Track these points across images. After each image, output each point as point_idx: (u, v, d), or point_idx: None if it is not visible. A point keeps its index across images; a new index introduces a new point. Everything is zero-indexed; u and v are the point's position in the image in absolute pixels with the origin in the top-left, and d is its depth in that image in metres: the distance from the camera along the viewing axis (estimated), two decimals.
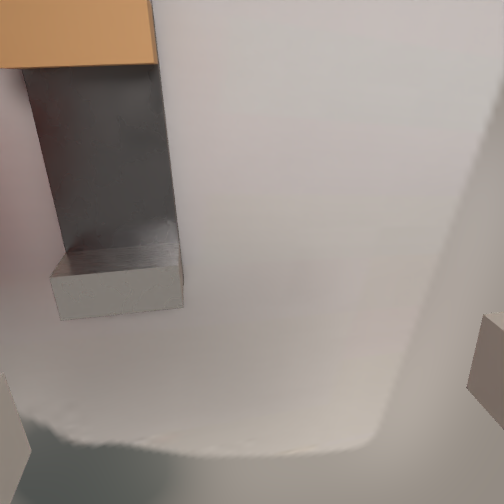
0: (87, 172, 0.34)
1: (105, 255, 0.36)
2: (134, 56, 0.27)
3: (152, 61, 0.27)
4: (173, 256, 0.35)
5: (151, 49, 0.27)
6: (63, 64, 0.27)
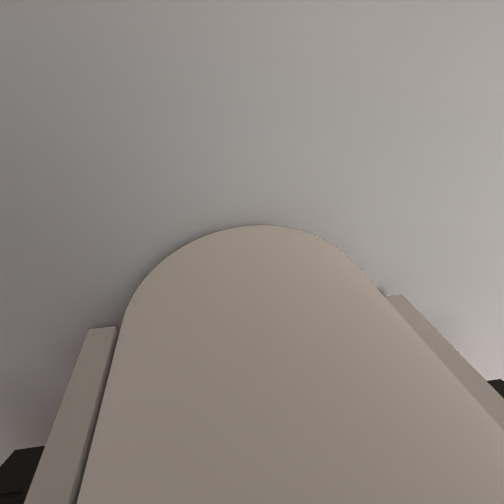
0: None
1: None
2: None
3: None
4: None
5: None
6: None
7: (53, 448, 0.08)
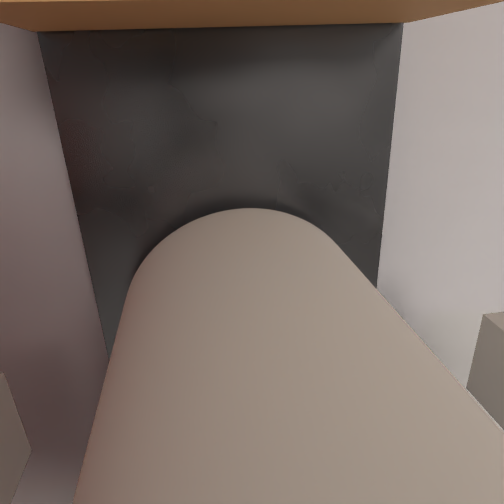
0: None
1: None
2: None
3: None
4: None
5: None
6: None
7: None
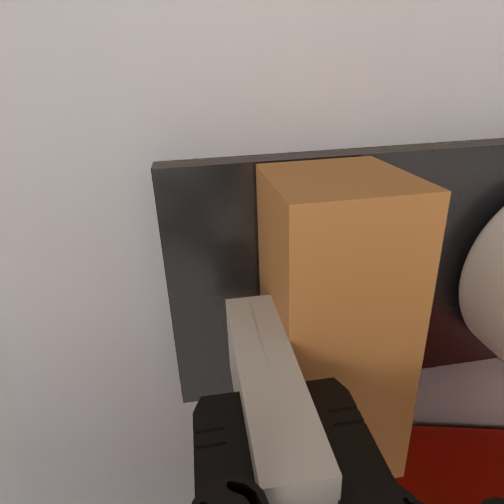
0: None
1: None
2: (428, 240, 0.10)
3: (447, 195, 0.10)
4: None
5: (420, 196, 0.10)
6: (417, 379, 0.12)
7: (249, 390, 0.09)
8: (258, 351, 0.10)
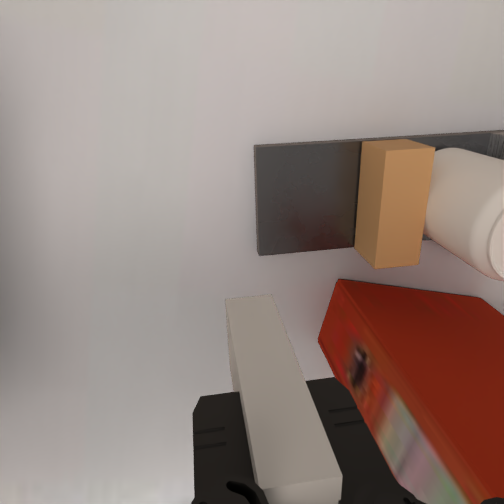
0: None
1: None
2: (428, 164, 0.32)
3: (434, 148, 0.31)
4: None
5: (425, 149, 0.31)
6: (424, 218, 0.34)
7: (249, 390, 0.09)
8: (258, 351, 0.10)
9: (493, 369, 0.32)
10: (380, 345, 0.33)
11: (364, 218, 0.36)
